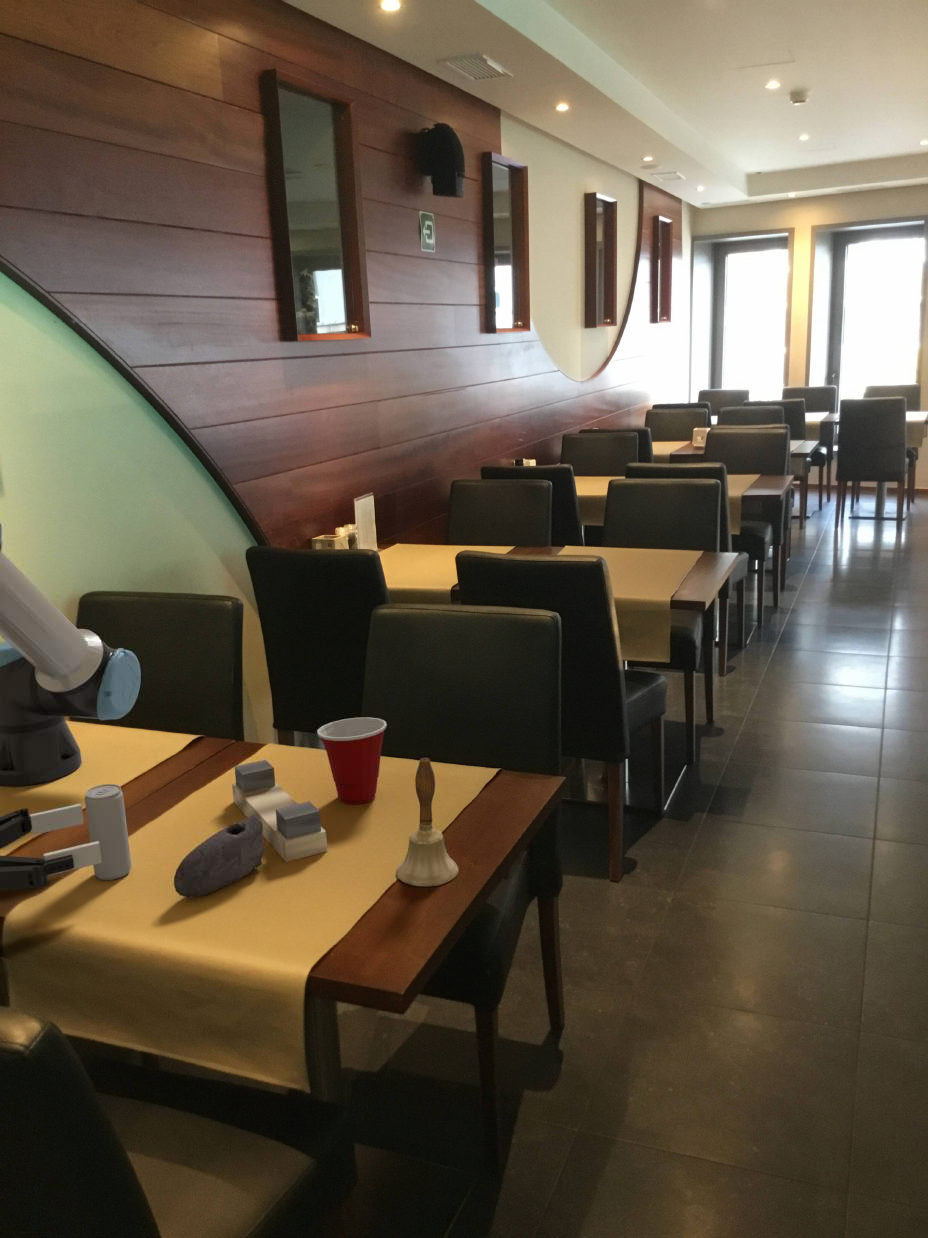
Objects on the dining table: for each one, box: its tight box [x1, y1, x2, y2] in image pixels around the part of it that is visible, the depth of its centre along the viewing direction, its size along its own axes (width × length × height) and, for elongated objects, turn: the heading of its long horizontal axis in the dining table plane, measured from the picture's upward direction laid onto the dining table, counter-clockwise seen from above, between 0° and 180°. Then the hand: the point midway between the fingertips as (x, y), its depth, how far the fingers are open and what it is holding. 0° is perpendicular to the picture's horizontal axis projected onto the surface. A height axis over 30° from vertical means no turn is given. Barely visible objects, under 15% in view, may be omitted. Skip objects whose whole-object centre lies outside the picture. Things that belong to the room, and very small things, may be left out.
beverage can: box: [84, 783, 132, 881], centre depth 134 cm, size 5×5×12 cm
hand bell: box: [395, 757, 460, 887], centre depth 132 cm, size 8×8×16 cm
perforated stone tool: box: [173, 816, 266, 898], centre depth 132 cm, size 15×5×7 cm, turn 142°
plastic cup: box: [316, 716, 388, 805], centre depth 157 cm, size 11×11×12 cm
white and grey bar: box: [231, 759, 328, 863], centre depth 148 cm, size 24×6×6 cm, turn 30°
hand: (91, 831), depth 133 cm, fingers open, 13 cm apart
